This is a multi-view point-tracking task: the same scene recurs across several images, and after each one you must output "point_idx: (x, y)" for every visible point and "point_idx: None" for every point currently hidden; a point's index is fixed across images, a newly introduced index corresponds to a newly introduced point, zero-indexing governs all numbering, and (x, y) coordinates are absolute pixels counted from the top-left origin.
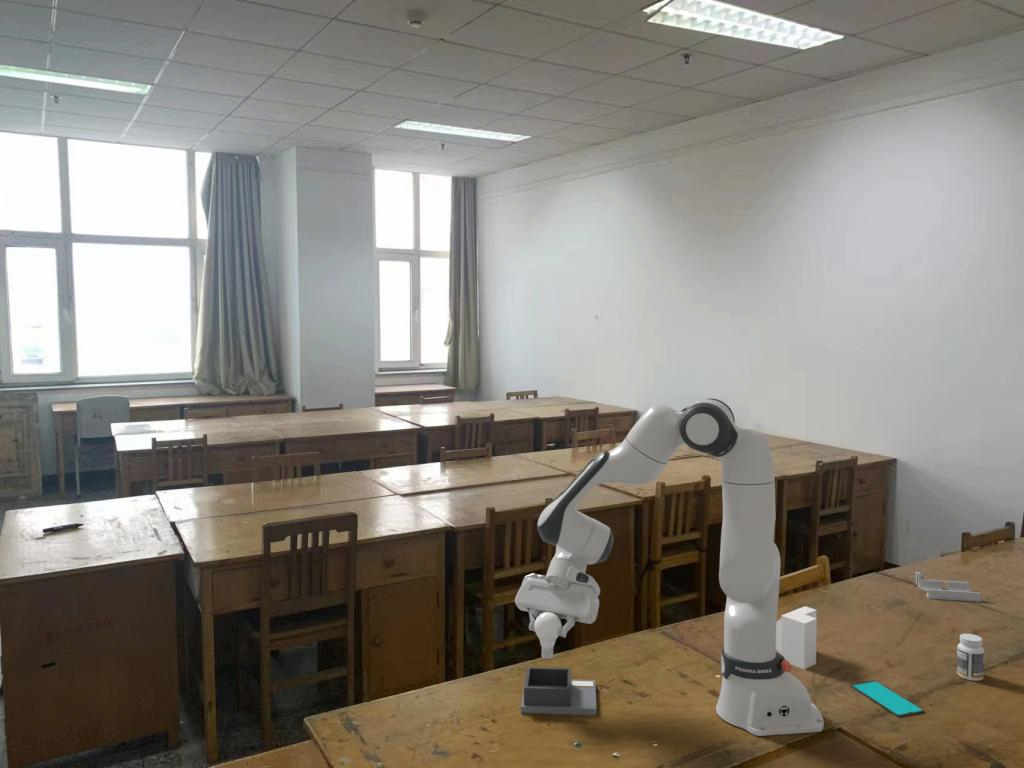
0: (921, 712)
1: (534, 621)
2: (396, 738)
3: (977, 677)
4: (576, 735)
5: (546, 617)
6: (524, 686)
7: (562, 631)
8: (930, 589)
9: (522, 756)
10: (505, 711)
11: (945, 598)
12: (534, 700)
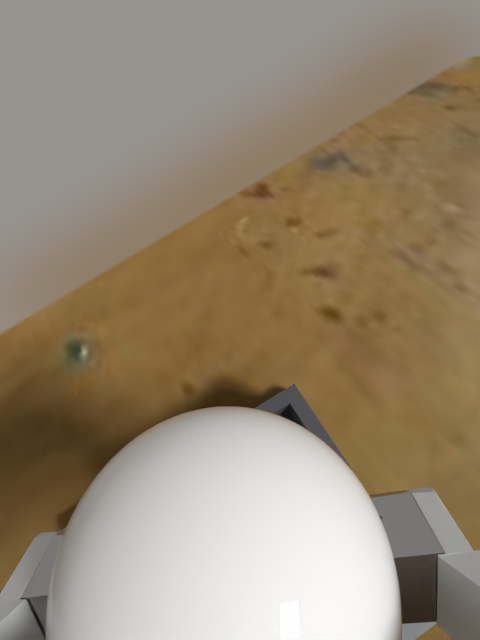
0: None
1: (414, 556)
2: (452, 141)
3: None
4: (94, 384)
5: (164, 483)
6: (299, 394)
7: (40, 553)
8: None
9: (172, 242)
10: (341, 373)
11: None
12: None
